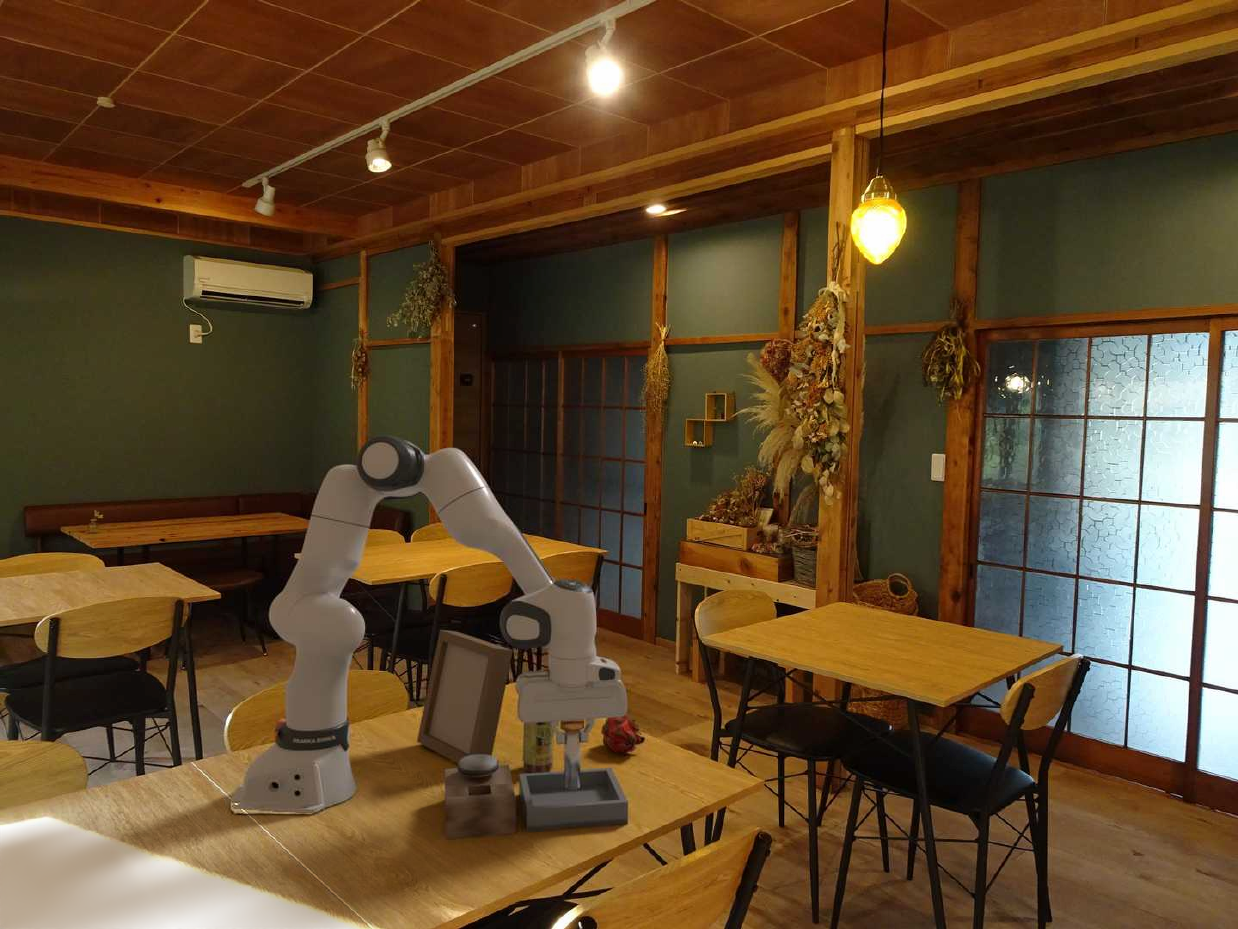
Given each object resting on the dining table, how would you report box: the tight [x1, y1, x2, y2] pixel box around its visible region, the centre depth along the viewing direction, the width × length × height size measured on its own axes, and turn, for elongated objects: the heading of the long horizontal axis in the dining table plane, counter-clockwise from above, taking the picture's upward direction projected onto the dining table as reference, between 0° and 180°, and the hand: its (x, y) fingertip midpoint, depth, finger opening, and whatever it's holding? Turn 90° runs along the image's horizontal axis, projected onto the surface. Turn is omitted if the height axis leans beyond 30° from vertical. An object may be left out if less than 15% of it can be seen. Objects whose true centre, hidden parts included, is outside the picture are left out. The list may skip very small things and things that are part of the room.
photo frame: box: [416, 629, 514, 764], centre depth 195 cm, size 15×22×25 cm
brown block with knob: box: [444, 754, 517, 840], centre depth 164 cm, size 12×16×9 cm
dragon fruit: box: [600, 713, 646, 756], centre depth 197 cm, size 8×8×12 cm
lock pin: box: [559, 719, 585, 789], centre depth 168 cm, size 4×4×12 cm
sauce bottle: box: [522, 676, 555, 773], centre depth 186 cm, size 7×6×20 cm
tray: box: [518, 767, 629, 833], centre depth 168 cm, size 18×16×4 cm
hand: (572, 742), depth 168 cm, fingers closed on lock pin, 3 cm apart
